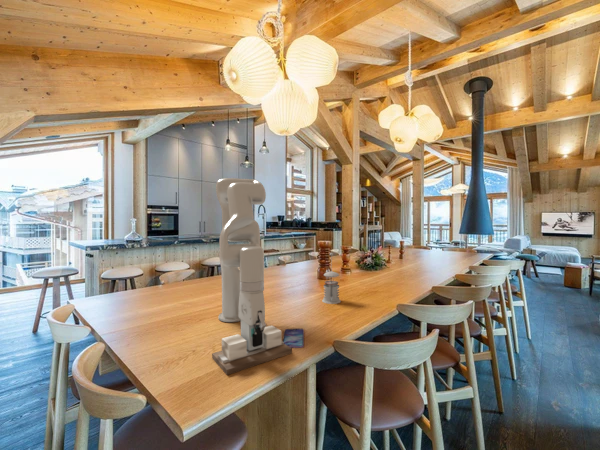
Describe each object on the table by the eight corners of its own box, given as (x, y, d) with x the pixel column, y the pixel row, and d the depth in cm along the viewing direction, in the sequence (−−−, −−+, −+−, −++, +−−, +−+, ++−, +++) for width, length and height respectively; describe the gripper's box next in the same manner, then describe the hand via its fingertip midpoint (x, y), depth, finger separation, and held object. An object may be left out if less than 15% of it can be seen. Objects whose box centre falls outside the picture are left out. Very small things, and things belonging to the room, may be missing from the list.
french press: (340, 298, 156) (340, 251, 155) (341, 305, 145) (341, 254, 144) (322, 297, 157) (322, 251, 156) (321, 304, 146) (321, 254, 145)
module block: (240, 343, 95) (240, 319, 94) (254, 339, 98) (254, 316, 97) (249, 351, 90) (249, 325, 89) (264, 346, 93) (263, 321, 92)
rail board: (212, 358, 92) (211, 336, 92) (272, 340, 105) (272, 321, 105) (226, 375, 82) (226, 351, 82) (291, 353, 95) (291, 332, 95)
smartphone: (281, 346, 99) (284, 328, 114) (281, 349, 99) (284, 331, 114) (303, 346, 99) (303, 328, 114) (303, 348, 99) (303, 330, 114)
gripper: (229, 282, 98) (230, 335, 98) (253, 293, 84) (254, 355, 84) (250, 279, 102) (250, 330, 103) (276, 289, 88) (276, 348, 89)
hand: (252, 341), depth 94 cm, fingers closed on module block, 6 cm apart
